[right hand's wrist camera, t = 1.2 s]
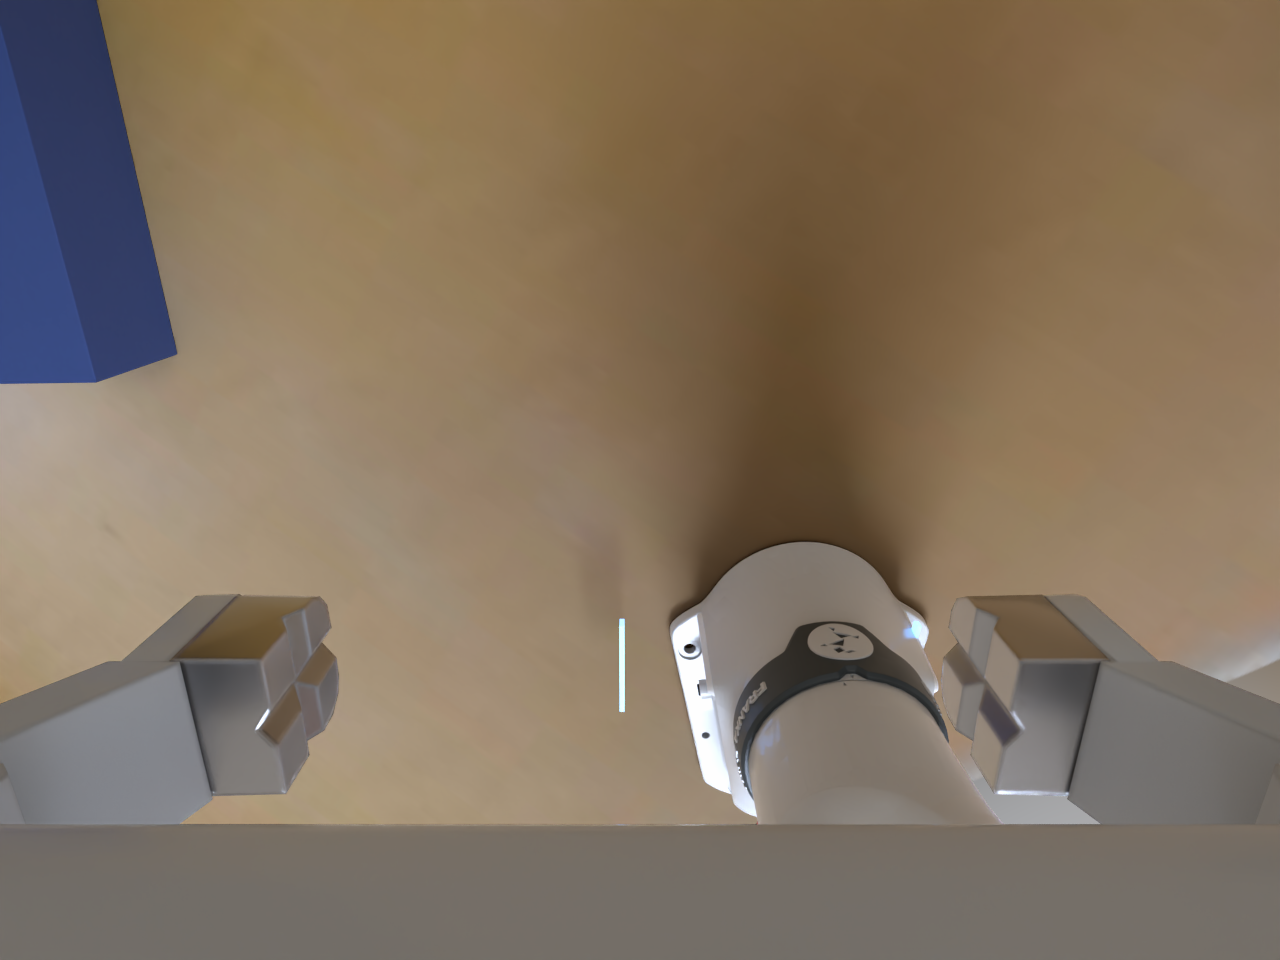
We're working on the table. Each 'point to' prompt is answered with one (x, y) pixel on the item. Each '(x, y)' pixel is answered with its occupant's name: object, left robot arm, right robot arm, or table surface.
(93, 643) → the table surface
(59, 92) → the bar
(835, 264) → the table surface
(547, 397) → the table surface
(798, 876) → the right robot arm
